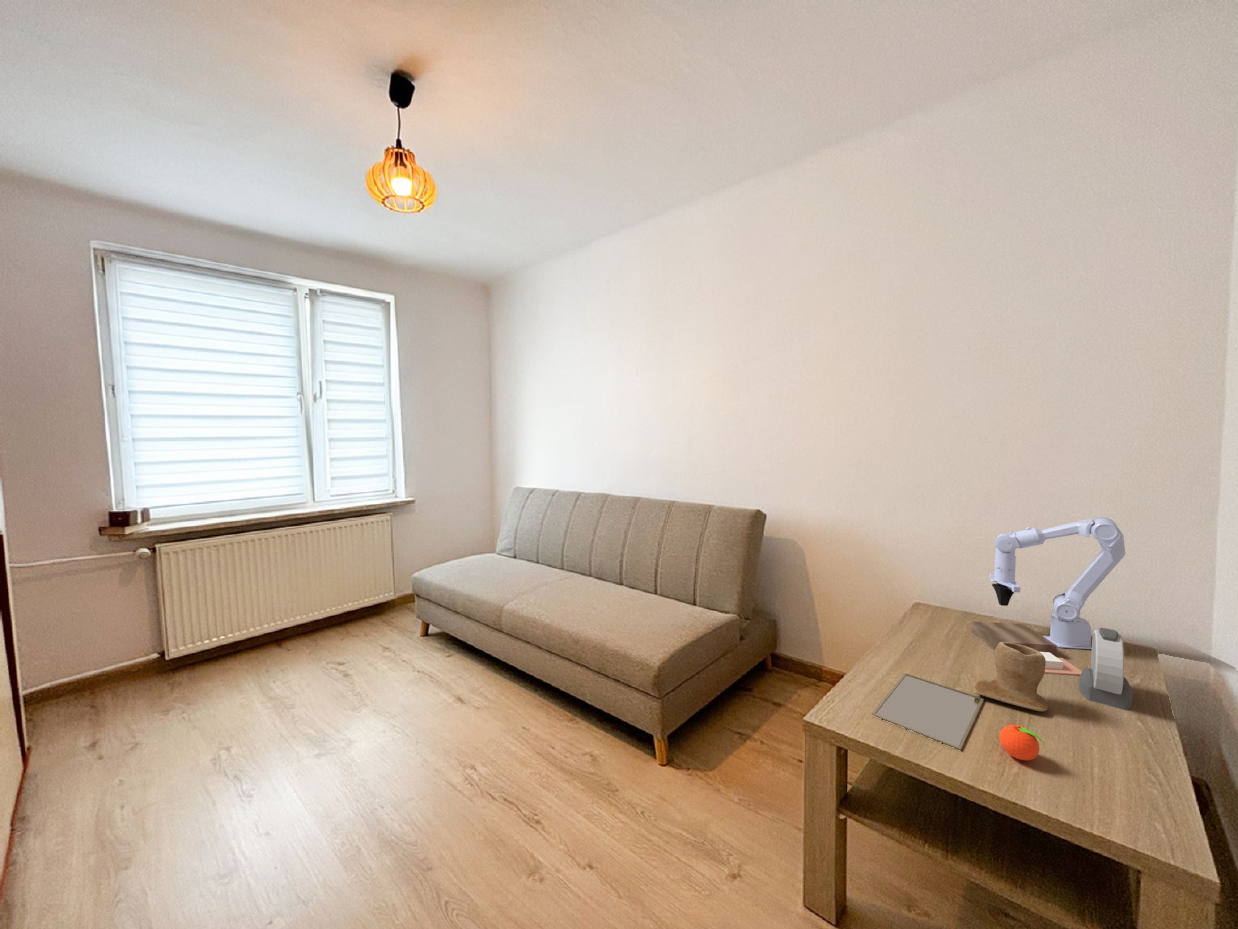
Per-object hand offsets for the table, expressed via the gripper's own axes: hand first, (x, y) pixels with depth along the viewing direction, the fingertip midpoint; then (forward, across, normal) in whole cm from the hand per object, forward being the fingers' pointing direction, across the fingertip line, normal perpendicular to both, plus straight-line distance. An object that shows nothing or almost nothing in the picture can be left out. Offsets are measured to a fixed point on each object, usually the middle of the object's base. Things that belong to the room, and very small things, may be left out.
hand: (1003, 605), depth 167 cm
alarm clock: (+10, +40, +4) cm, 41 cm away
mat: (+9, +25, -3) cm, 27 cm away
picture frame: (+10, +54, -45) cm, 71 cm away
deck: (+9, +11, -3) cm, 15 cm away
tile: (+7, +25, -3) cm, 26 cm away
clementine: (+10, +71, -33) cm, 79 cm away
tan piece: (+10, +46, -22) cm, 52 cm away
